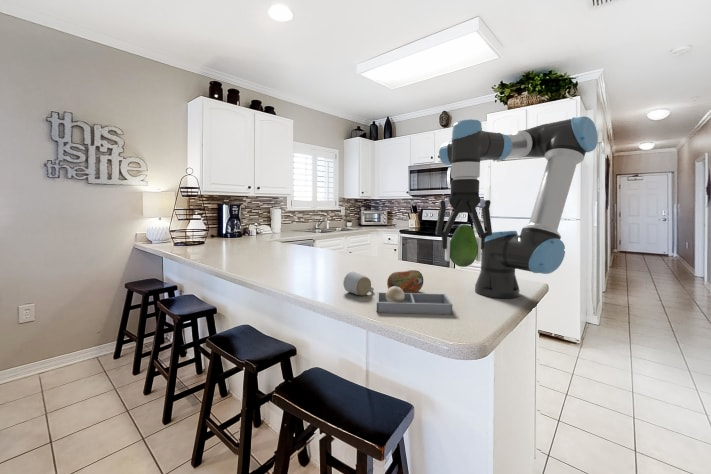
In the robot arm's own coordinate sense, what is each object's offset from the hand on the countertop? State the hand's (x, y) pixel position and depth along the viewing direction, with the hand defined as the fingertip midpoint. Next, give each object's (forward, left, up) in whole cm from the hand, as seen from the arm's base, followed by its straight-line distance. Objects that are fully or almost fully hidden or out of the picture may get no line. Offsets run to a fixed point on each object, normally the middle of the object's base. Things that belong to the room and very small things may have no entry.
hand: (462, 260), depth 93 cm
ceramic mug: (+31, -24, -17) cm, 43 cm away
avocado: (0, 0, -2) cm, 2 cm away
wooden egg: (+18, -9, -13) cm, 25 cm away
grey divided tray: (+13, -9, -17) cm, 23 cm away
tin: (+14, -26, -17) cm, 34 cm away
